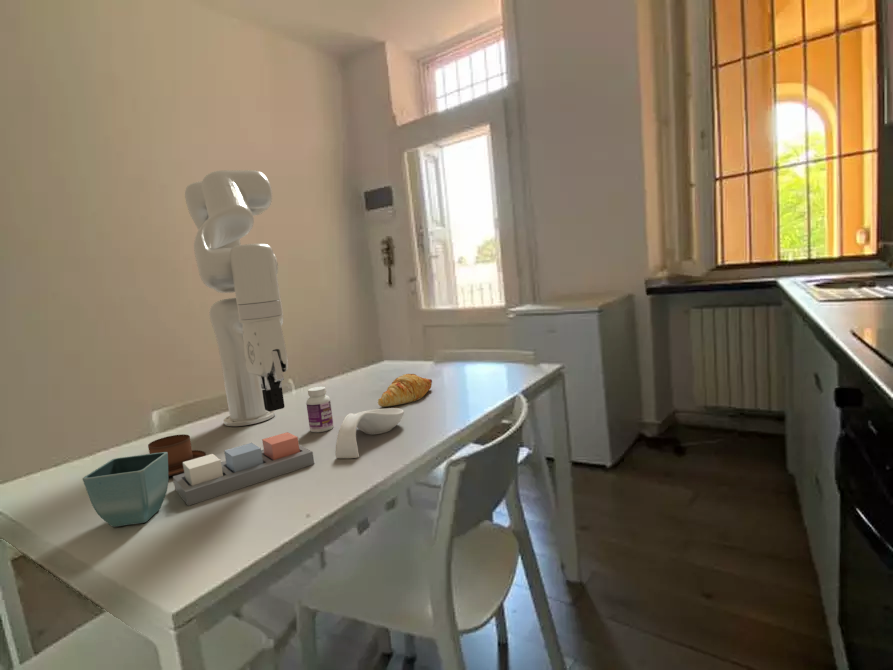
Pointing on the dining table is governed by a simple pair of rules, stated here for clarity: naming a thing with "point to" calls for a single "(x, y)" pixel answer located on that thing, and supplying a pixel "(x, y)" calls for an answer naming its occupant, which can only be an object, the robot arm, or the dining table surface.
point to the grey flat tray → (241, 476)
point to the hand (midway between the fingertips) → (275, 409)
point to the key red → (280, 445)
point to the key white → (202, 469)
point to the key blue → (243, 457)
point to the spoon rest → (364, 428)
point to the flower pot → (129, 488)
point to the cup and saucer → (175, 451)
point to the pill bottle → (319, 410)
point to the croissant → (405, 390)
